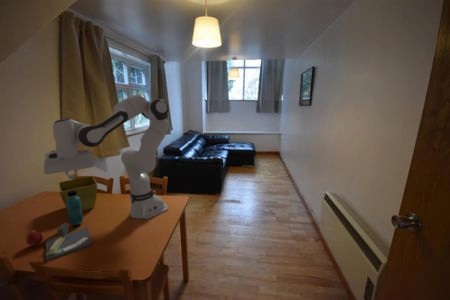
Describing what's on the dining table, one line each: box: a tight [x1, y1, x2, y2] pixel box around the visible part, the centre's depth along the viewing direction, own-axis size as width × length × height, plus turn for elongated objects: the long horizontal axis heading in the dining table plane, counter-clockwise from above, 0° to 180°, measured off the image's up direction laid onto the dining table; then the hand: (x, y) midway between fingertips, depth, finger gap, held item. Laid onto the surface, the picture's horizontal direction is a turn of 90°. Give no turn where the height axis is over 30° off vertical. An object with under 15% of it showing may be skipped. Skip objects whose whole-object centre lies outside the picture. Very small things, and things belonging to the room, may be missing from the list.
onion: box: [25, 230, 44, 247], centre depth 101 cm, size 6×6×8 cm
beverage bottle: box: [66, 190, 84, 226], centre depth 117 cm, size 6×7×20 cm
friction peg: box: [49, 222, 69, 254], centre depth 100 cm, size 2×15×6 cm, turn 16°
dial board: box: [45, 227, 93, 262], centre depth 103 cm, size 17×16×1 cm
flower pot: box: [57, 175, 98, 212], centre depth 136 cm, size 19×19×17 cm
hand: (72, 178), depth 108 cm, fingers closed
